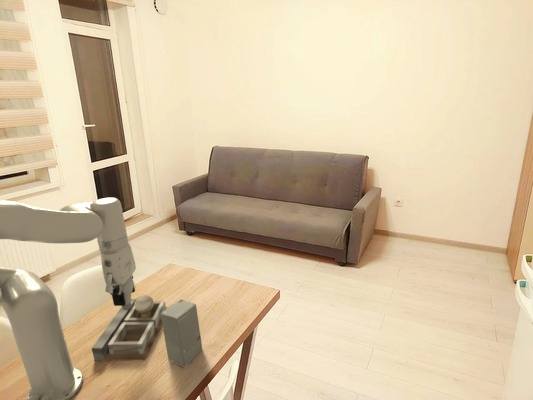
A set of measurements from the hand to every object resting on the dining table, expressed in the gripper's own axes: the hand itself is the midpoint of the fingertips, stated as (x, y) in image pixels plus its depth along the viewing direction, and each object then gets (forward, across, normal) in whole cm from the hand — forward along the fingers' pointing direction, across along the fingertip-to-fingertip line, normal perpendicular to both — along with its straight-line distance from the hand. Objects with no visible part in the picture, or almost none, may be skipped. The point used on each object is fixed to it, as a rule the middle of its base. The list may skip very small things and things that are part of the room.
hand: (124, 297), depth 99 cm
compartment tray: (+17, +5, +2) cm, 17 cm away
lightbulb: (+4, 0, 0) cm, 4 cm away
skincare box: (+17, -4, -17) cm, 24 cm away
